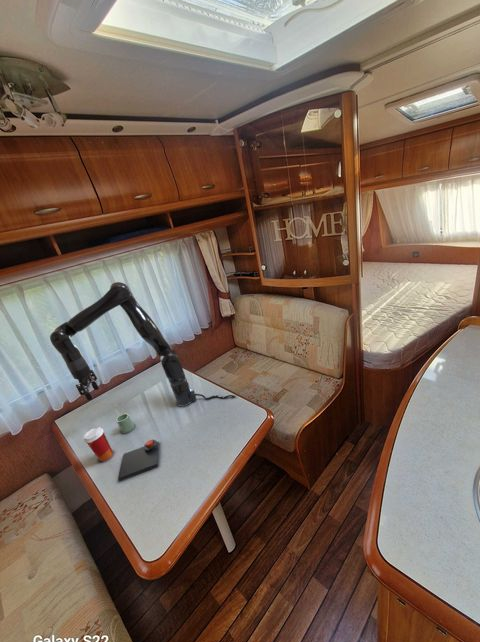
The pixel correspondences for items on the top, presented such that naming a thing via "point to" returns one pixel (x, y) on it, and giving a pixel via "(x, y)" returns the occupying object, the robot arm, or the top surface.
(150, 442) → the tare button
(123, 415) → the tumbler
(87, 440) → the coffee cup
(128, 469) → the scale
